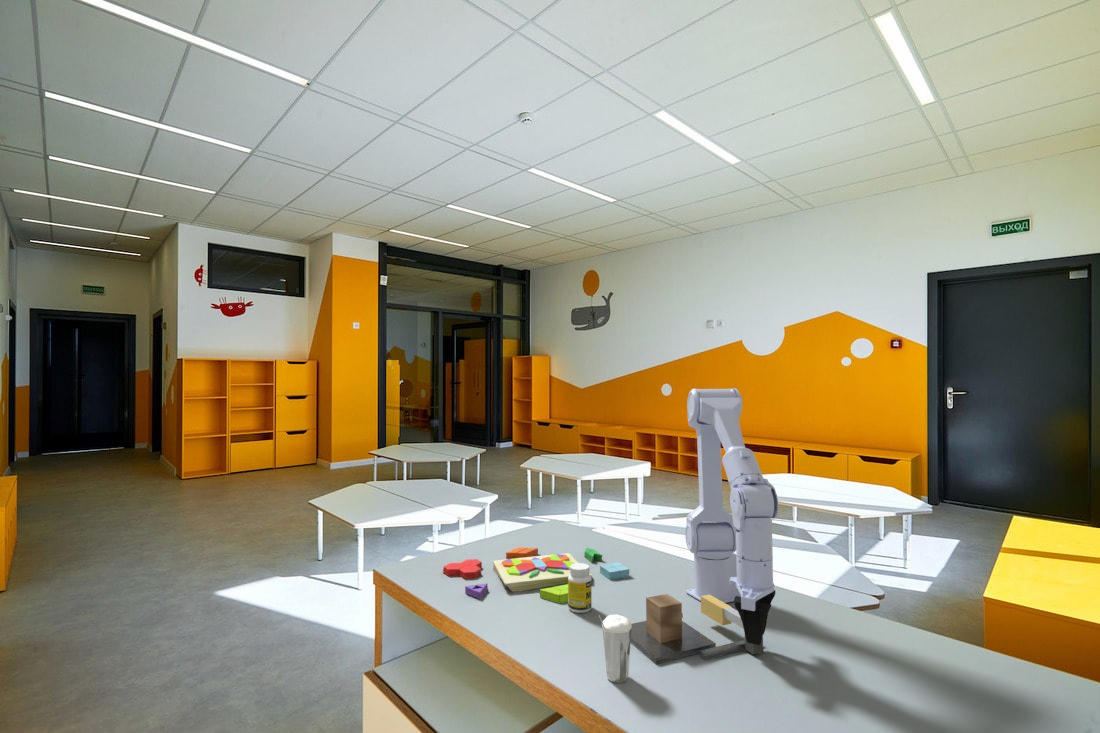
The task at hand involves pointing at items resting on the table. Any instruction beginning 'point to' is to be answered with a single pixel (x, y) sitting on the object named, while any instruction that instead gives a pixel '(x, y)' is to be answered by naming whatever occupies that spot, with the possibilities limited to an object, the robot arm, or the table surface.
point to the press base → (679, 644)
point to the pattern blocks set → (532, 572)
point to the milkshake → (617, 647)
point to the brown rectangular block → (664, 618)
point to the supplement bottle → (579, 588)
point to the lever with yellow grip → (726, 617)
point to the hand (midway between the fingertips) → (755, 637)
